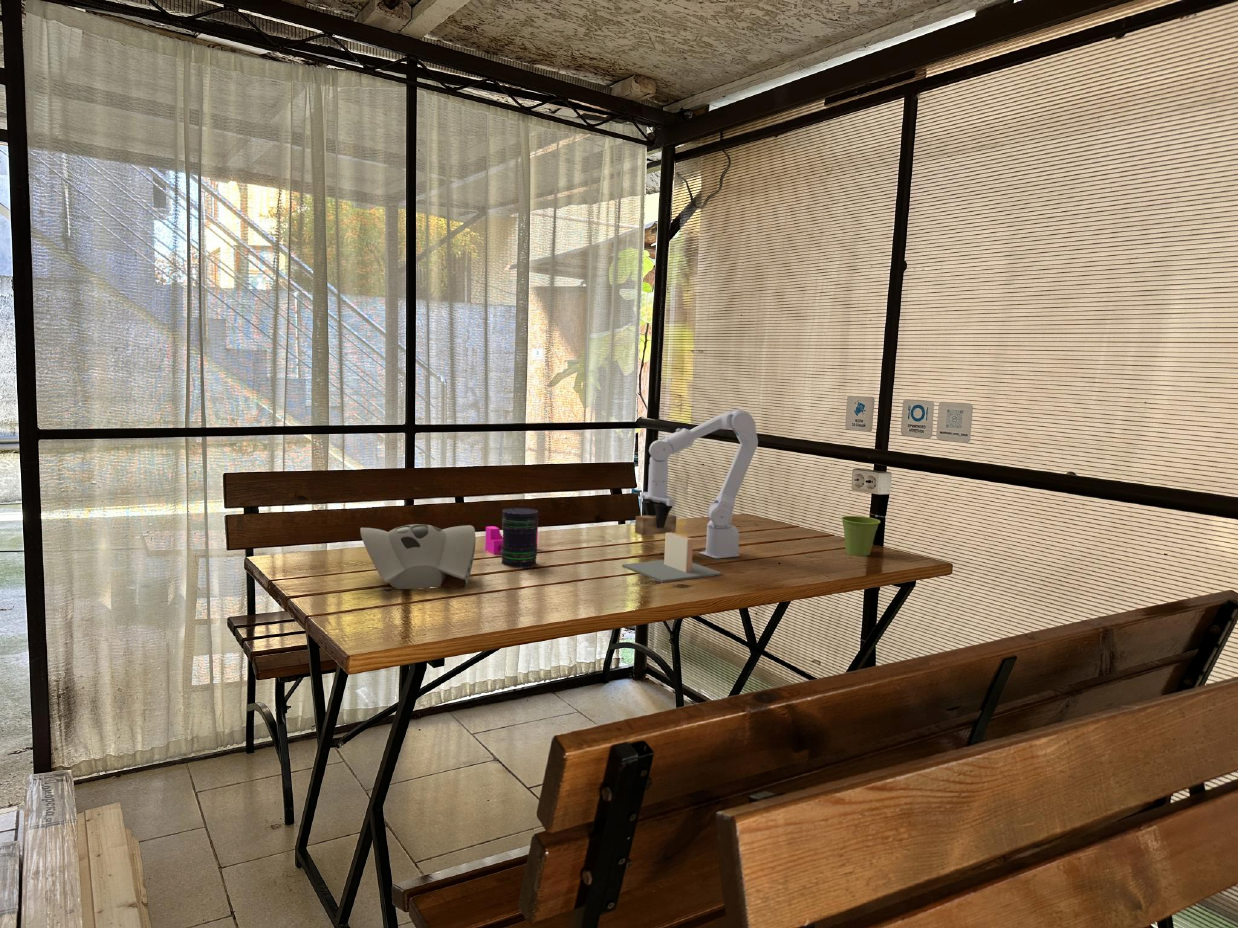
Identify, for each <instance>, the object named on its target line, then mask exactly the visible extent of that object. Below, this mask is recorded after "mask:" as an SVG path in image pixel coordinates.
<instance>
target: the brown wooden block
mask: <svg viewBox="0 0 1238 928" xmlns="http://www.w3.org/2000/svg"><path fill="white" fill-rule="evenodd" d="M634 526H635V527H634V530H635V531H634V533H635V534H638V535H640V536H651V535H660V534H661V535H663V534H665V533H669V532H672V533H675V534H677V533H676V532H677V530H676V529H677V515H673V514H670V513H669V514H668V516H667V519H666V522H665V525H664V528H657V523H656V515H646V514H645V515H635V525H634Z"/></svg>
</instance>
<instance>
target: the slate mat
mask: <svg viewBox="0 0 1238 928" xmlns="http://www.w3.org/2000/svg"><path fill="white" fill-rule="evenodd" d="M622 568H625V569H628V570H630V571H633V572H635V573H637V574H640V575H643V576H644V577H646V578H647V577H648V578H650V579H652V580H655V581H658V582H660V583H669V582H676V581H685V580H692V579H693V580H694V579H698V578H708V577H715V575H717V576H722V575H723V573H722V572H720V571H718V570H715V569H714V568H713V569H712V568H709V567H706V566H704V565H701V564H699V563H695V562H693V561H692V570H691V572H683V571H681V570H678V569H675V568H673V567H670V566H667V565H665V564H664V559H659V560H651V561H641V562H634V563H633V562H631V563H623V564H622Z"/></svg>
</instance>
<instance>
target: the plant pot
mask: <svg viewBox="0 0 1238 928" xmlns="http://www.w3.org/2000/svg"><path fill="white" fill-rule="evenodd" d="M840 520H842V528H843V535H844V547H845V553H846V554H847V555H850V556H854V555H855V556H856V557H868V556H867V555H869V556H870V554H871V551H872V547H873V545H874V540H875V536H876V532H877V530H878V526H879V524H881V520H880V519H877V518H873V517H868V516H859V515H858V516H857V515H845V516H841V517H840Z"/></svg>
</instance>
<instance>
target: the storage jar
mask: <svg viewBox="0 0 1238 928" xmlns="http://www.w3.org/2000/svg"><path fill="white" fill-rule="evenodd" d="M538 514H539V510H538V509H535V508H529V507H508V508H504V509H502V519H501V520H502V521H501V524H502V526H501V531H502V537H503V544H502V550H501V554H500V555H501V565H503V566H507V567H513V568H523V569H526V568H527V569H528V568H529V569H530V568H532V567H536V566H537V556H538V543H537V544H536V532H537V529H538V530H539V526H538V525H539V516H538Z"/></svg>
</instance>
